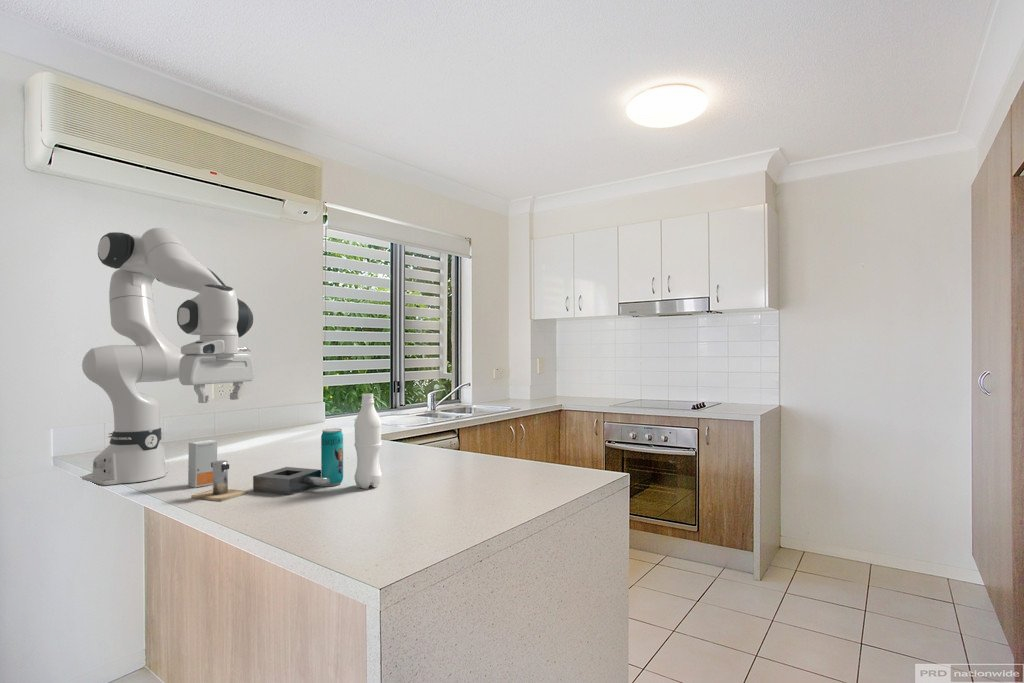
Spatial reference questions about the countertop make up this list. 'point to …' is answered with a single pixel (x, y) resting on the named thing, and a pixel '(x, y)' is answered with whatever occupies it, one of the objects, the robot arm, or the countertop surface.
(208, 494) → the pad
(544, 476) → the countertop surface
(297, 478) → the grey handled square frame
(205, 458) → the skincare box
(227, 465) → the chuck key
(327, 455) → the beverage can
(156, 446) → the robot arm
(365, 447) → the water bottle
